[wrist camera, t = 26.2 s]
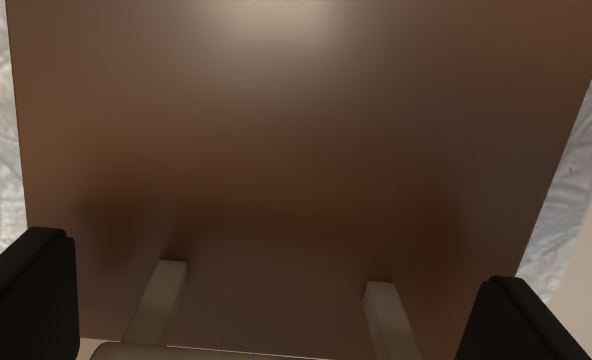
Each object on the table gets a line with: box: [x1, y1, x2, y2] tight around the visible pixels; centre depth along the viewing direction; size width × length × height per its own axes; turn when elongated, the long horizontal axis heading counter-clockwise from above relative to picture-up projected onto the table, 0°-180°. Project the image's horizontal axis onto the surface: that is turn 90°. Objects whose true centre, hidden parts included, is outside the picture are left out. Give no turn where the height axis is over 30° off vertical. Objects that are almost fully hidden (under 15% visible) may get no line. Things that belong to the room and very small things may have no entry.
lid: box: [5, 0, 592, 360], centre depth 7 cm, size 14×12×5 cm
